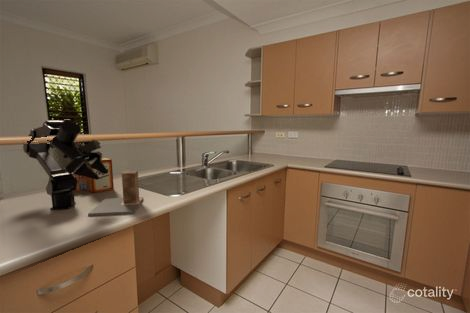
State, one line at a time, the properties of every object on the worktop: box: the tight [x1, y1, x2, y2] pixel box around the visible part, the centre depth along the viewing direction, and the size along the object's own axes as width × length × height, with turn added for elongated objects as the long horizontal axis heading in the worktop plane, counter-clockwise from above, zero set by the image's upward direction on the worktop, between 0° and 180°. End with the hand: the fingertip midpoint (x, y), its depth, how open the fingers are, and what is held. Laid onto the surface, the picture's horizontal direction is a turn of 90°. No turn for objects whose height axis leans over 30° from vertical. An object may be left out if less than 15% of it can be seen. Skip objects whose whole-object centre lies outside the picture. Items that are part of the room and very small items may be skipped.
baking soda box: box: [88, 157, 115, 194], centre depth 113 cm, size 10×6×16 cm
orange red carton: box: [72, 174, 89, 193], centre depth 115 cm, size 21×6×12 cm, turn 132°
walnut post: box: [121, 170, 140, 204], centre depth 95 cm, size 5×5×13 cm
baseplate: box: [87, 196, 144, 217], centre depth 93 cm, size 16×16×1 cm
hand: (103, 175), depth 89 cm, fingers open, 9 cm apart
